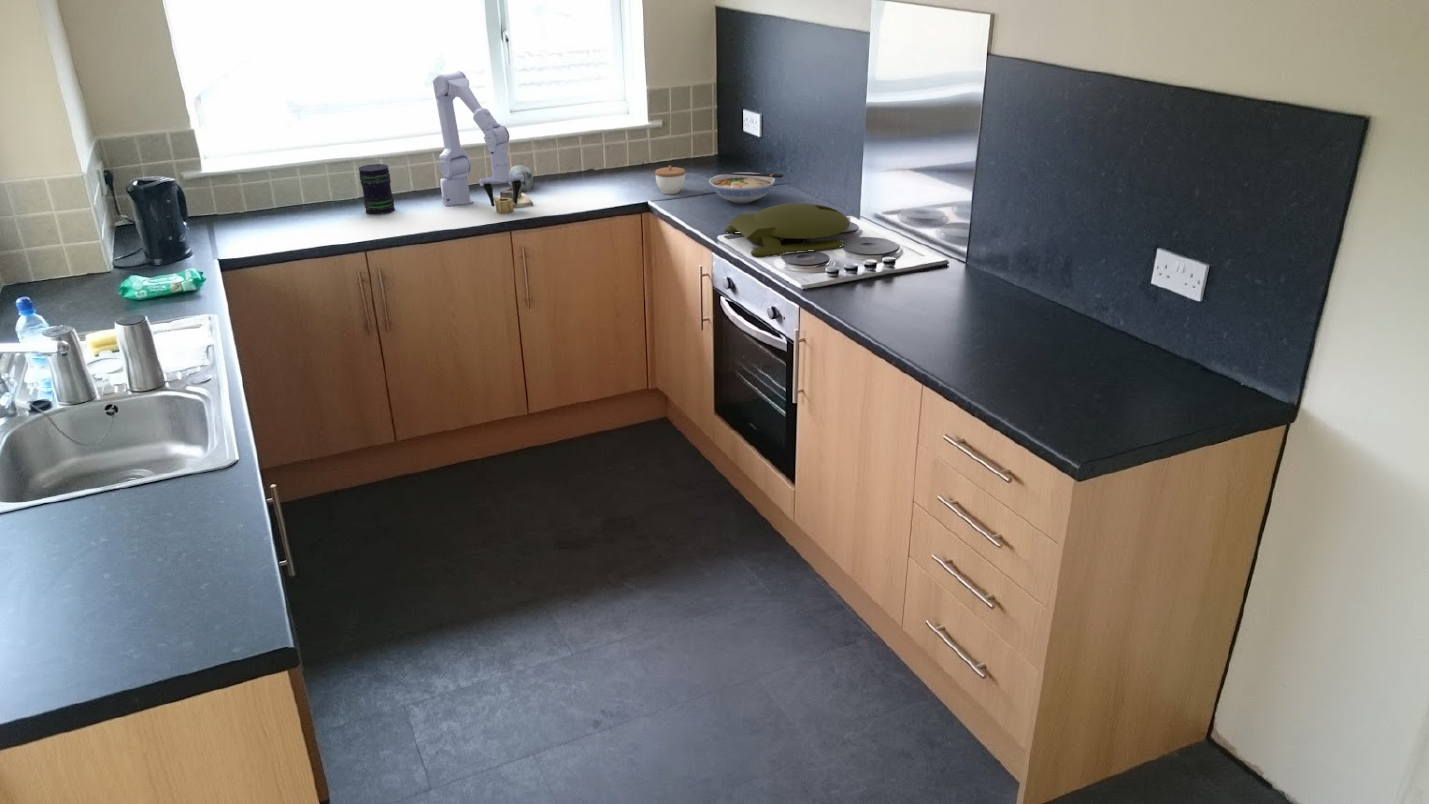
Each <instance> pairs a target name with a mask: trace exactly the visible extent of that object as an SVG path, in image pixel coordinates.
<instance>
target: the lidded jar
mask: <svg viewBox="0 0 1429 804" xmlns="http://www.w3.org/2000/svg"><path fill="white" fill-rule="evenodd" d="M654 174H655V183H656V185H657V187H658V189H659V190H660V191H661V192H662V194H665V195H674V194H679V193H680V191H682V189H683V188H684V185H685V183H686V182H685V181H686V170H685V168H682V167H678V166H677V167H675V166H674V167H672V165H668V167H660V168H658V169H656V170H655V171H654Z"/></svg>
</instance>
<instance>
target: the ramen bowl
mask: <svg viewBox="0 0 1429 804" xmlns="http://www.w3.org/2000/svg"><path fill="white" fill-rule="evenodd" d="M713 174H716V175H715V176H713V177H711V178H710V179H709V180H708V182H709V184H710V186H711V188H712V189H713V191H714V192H715V193H716V194H717V195H718V196H719V197H720V198H722V199H725V200H727V201H730V202H732V203H734V204H740V205H741V204H743V205H744V204H750V203H752V202H754V201H757V200H759V199H762V198H763V197H764V196H766V195H767V194H768V193H769V192H771V191H770V190H771V189H772V188H773V186H774V184H775V181H776V178H781V179H782V178H783V177H784V174H778V173H777V174H776V173H775V174H774V173H756V172H713Z"/></svg>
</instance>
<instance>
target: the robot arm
mask: <svg viewBox="0 0 1429 804" xmlns="http://www.w3.org/2000/svg"><path fill="white" fill-rule="evenodd" d="M432 86H433V90H434V96H435V97H434V98H435V102H436V107H437V113H438V117H439V124H440V129H441V135H442V140H443V146H444V149H443V151H442V152H441V154H439V167H438V168H439V172H440V173H441V175H442V177H443V178H440V180H439V181H440V182H439V183H440V190H441V191H440V192H441V201H442V203H443V204H444V205H445V207H449V206H457V205H466V204H474V202H473V200H472V199H471V196H470V186H469V180H468V176H470V174H469V173H470V172H471V170H472V164H471V160H470V159H469V156H468V151H466V150H465V149H463V148H462V147H461V141H460V136H459V130H458V124H457V123H458V122H457V118H456V112H455V107H454V100H455V99H456V98H459V99H460V100H461V101H462V102H463V103H464V105H465V106H466V107H467V108H468V109H469V111H470V112H471V113H472V114H473V115H472V117H473V118H472V119H473V121H474V122H475V124H476V126H478V128H479V130H481V132H482V133H483V135H484V136H483V140H484V142H485V144H486V147H487V150H488V152H489V158H490V166H491V175H492V176H488V177H484V178H479V179H478V180H479V185H480V187H483V189H484V190H485V192H486V194H487V197H488V198H489V202H490V205H491V207H495V201H494V199H493V196H494V189H493V186H492V185H497V184H506V183H508V182H511V183H512V188H513V200H514V203H515V204H517V198H518V193H519V190H520V187H521V182H522V181H524V178H523V175H510V173H509V171H510V165H509V164H510V163H509V156H508V147H507V143H509V140H510V132H509V130H508V129H507V127H506V126H505V125H502V124H501V123H498V121H497V120H496V119H495V117H494V116H493V115H492V113H491V111H489V110H488V108H484V107H482V105H481V104H480V103H479V101H478V99H477V97H476V96H475V94H474V93H473V91H472V90H471V88H470V79H468V77H467V76H466V74H465V73H464V72H463V71H461V70H458V71H455V72H453V71H452V72H449V73H438V74H436V75H435V77H434V78H433V80H432ZM508 184H509V183H508Z"/></svg>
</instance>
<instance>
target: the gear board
mask: <svg viewBox="0 0 1429 804" xmlns="http://www.w3.org/2000/svg"><path fill="white" fill-rule="evenodd" d="M499 198H510V199H512V202H513V209H515V208H523V207H532V206H534V203H533V201H532V199H530V197H528V196H527V194H526V193H524V192H522V191H521V189H520V190H519V193H518V198H517V204H515V203H514V200H513V188H512V187H511V186H508V187H506V188H501V189H500V190H499V195H495V196H494V195H493V199H494V202H495V200H496V199H499Z"/></svg>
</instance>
